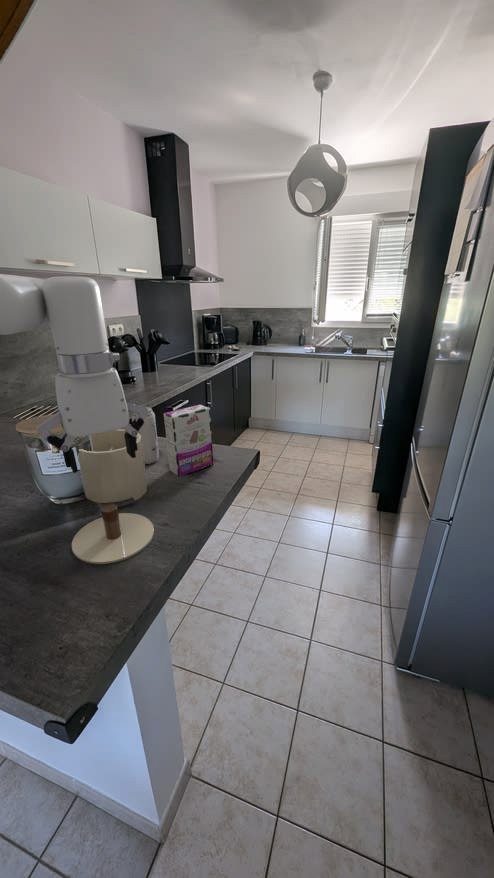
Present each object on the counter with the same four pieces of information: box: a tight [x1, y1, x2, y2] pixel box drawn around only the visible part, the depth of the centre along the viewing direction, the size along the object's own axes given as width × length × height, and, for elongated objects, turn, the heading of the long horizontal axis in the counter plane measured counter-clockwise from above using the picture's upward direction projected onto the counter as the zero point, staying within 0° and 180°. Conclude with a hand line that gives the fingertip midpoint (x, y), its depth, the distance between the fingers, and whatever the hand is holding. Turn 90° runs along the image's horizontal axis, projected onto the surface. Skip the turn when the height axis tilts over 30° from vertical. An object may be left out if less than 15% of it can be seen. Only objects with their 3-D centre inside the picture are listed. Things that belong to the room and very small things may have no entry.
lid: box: [71, 503, 155, 565], centre depth 66 cm, size 15×15×7 cm
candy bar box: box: [163, 404, 214, 477], centre depth 92 cm, size 11×5×16 cm, turn 131°
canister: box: [78, 428, 148, 507], centre depth 81 cm, size 14×14×14 cm
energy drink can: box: [131, 406, 160, 465], centre depth 96 cm, size 6×6×15 cm
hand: (104, 462), depth 62 cm, fingers open, 9 cm apart
